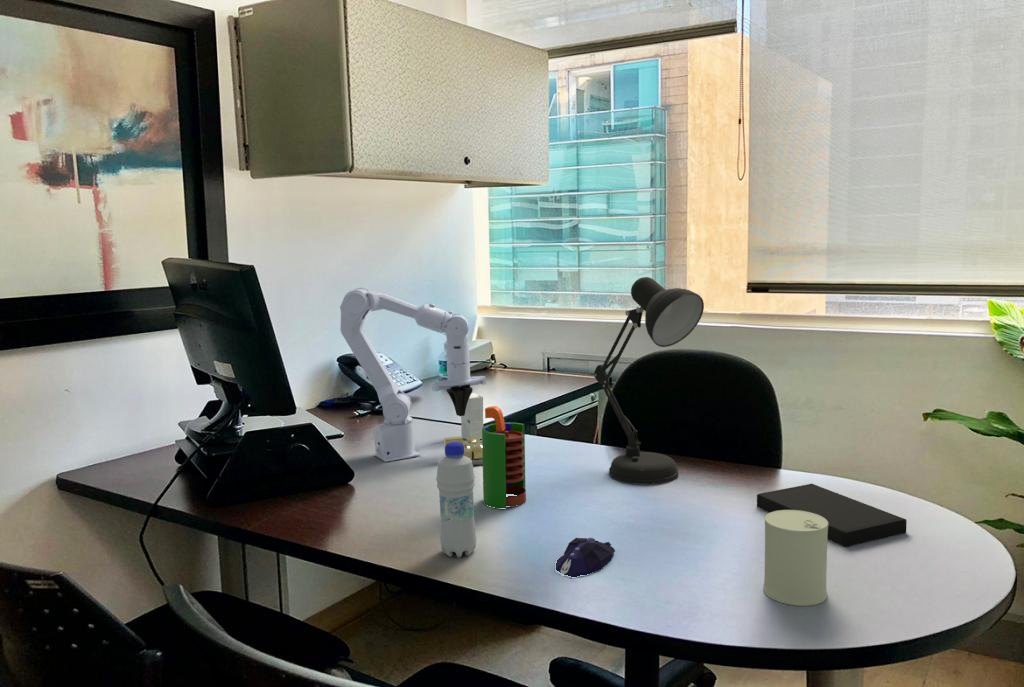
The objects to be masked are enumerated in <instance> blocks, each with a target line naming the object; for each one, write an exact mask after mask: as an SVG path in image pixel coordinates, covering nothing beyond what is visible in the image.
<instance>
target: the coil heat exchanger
mask: <svg viewBox="0 0 1024 687" xmlns="http://www.w3.org/2000/svg"><path fill="white" fill-rule="evenodd" d="M484 418H485V419H494V421H495V423H491V424H486V425H483V428H482V456H483V465H482V486H483V487H482V491H483V492H482V494H483V497H482V498H483V500H482V501H483V504H484V503H485V504H486V505H488V506H491V507H495V508H494V509H496V508H506V509H507V507H506V506H516V505H520V506H522V505H521V504H523V503H524V502H525V501H526V502H527V489H526V449H525V448H526V446H525V442H526V441H525V439H526V438H525V437H526V436H525V423H520V422H505V418H504V414H503V411H502V409H501V408H500V407H499V406H497V405H494V406H488V407H485V408H484ZM506 494H514V495H517V496H508V497H506ZM526 502H525V503H526ZM525 503H524V504H525ZM485 504H484V505H485ZM524 504H523V505H524ZM486 505H485V506H486ZM488 506H487V507H488ZM491 507H490V508H491ZM516 507H517V506H516Z"/></svg>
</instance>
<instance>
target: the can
mask: <svg viewBox="0 0 1024 687" xmlns="http://www.w3.org/2000/svg"><path fill="white" fill-rule="evenodd" d="M827 535H828V521H827V520H826V519H825V518H824V517H822V516H820V515H817V514H814V513H811V512H806V511H800V510H779V511H773V512H770V513H769V512H767V514H766V515H764V578H763V586H762V589H763V592H764V594H765V595H766V596H767V597H769V598H770V599H771V600H773V601H775V602H778V603H782V604H784V605H789V606H790V605H791V606H794V607H795V606H796V607H797V606H798V607H809V606H810V607H811V606H817V605H819V604H822V603H824V602H825V601H826V600H827V598H828V592H827V566H828V564H827V563H828V562H827V561H828V557H827V556H828V539H827Z"/></svg>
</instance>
